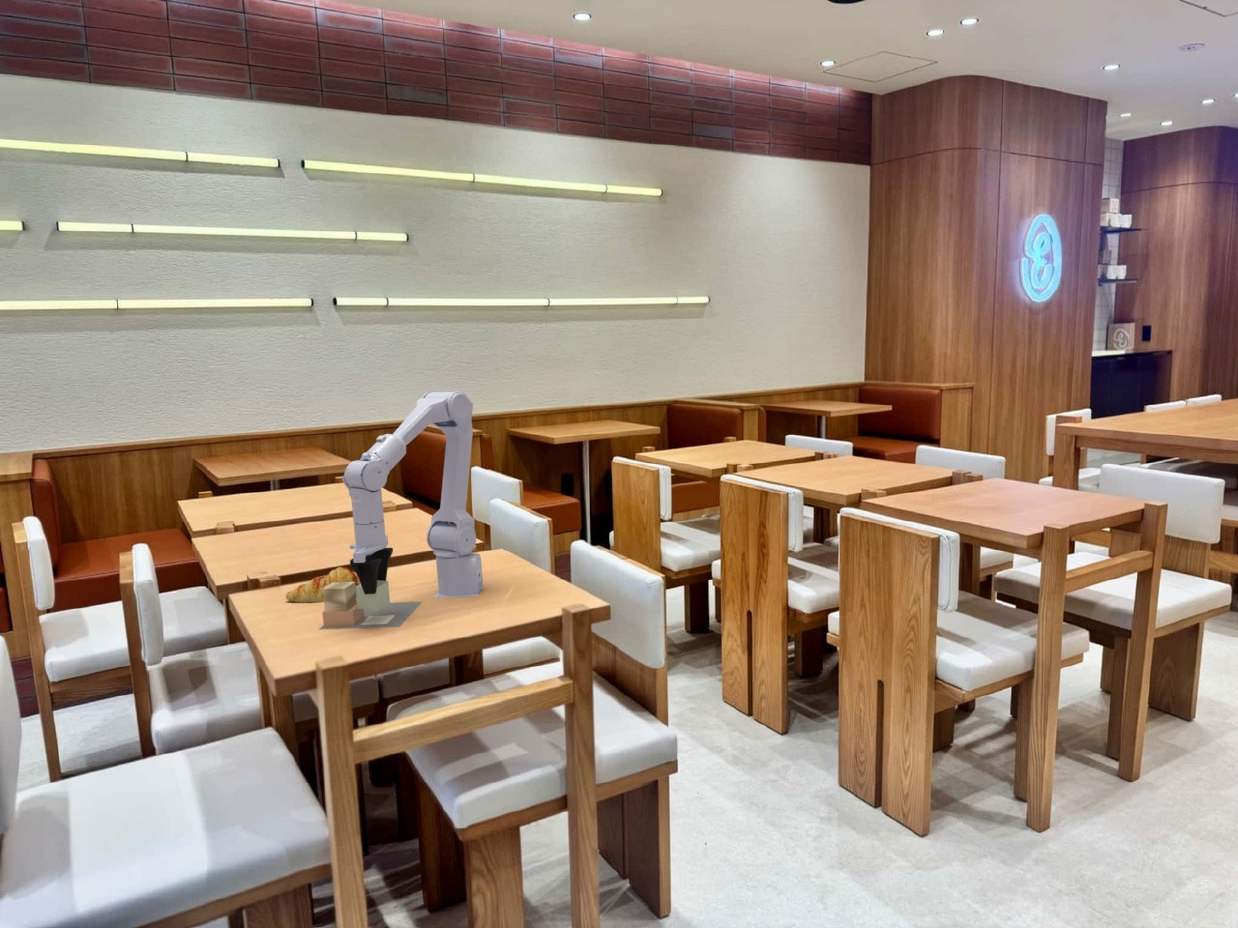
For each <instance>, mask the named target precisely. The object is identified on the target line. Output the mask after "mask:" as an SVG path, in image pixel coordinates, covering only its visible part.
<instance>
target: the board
mask: <svg viewBox="0 0 1238 928" xmlns="http://www.w3.org/2000/svg"><path fill="white" fill-rule="evenodd" d="M422 603H423V601H400V602H398V601H397V602H396V601H395V602H390V603H388V604H387V605H385V606H384V607H382V608H381V609H380V610H378V611H377V610H365V609H364V614H365V616H364V617H363V618H362V619H361V620H360V621H359V622H358V623H357V624H356V625H354V626H334V627H324V624H323V625H322V626H321V627H319V628H318V630H342V629H343V630H346V629H371V628H374V629H375V628H376V629H377V628H400V627H401V626H402V625H403V624H404V623H405V622H406V621H407V620H408V619H409V617H411V615H412V614H413V613H414V612H415V611H416V609H418V607H420V605H421V604H422Z"/></svg>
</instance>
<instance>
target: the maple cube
mask: <svg viewBox="0 0 1238 928" xmlns="http://www.w3.org/2000/svg"><path fill="white" fill-rule="evenodd" d="M323 596H324V602H323V604H324V605H323V606H324V610H325V611H347V610H349V609H350V608H352V607H353V606H355V605H356V604H357V597H356V589H355V582H333V583H331V584H330V585H328V586H326V587H325V588H323Z"/></svg>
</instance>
